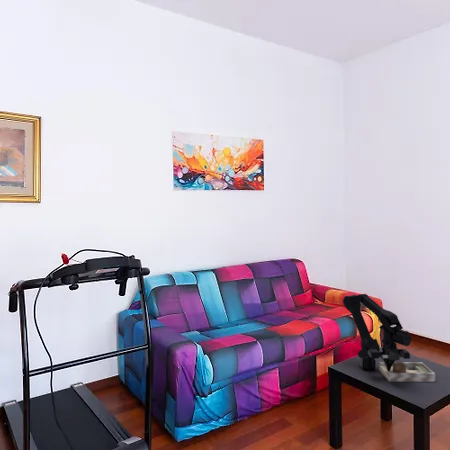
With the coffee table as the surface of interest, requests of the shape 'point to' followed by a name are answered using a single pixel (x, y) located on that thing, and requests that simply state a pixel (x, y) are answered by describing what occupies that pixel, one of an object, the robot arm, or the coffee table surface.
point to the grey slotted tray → (409, 373)
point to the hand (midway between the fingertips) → (388, 370)
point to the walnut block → (399, 367)
